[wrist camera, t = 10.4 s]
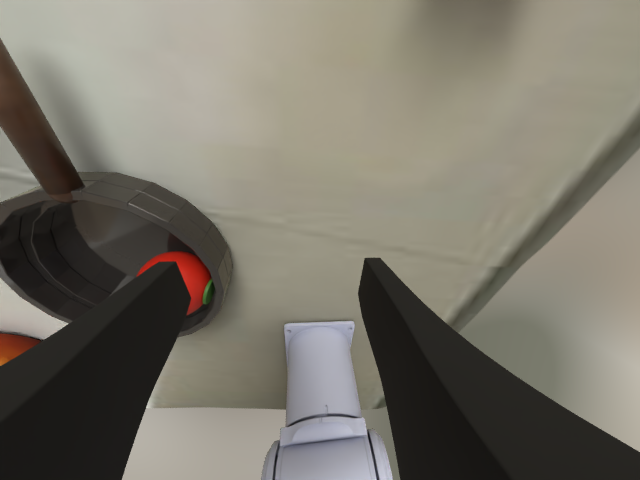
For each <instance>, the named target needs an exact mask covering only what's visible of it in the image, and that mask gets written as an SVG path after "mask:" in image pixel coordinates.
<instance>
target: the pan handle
mask: <svg viewBox="0 0 640 480" xmlns="http://www.w3.org/2000/svg"><path fill="white" fill-rule="evenodd" d="M0 127H1V128H2V130H3V131H4V132H5V134H6V135H7V137H8V138H9V140H10V141H11V143H12V144H13V146H14V147H15V148H16V150H17V151H18V153H19V154H20V156H21V157H22V159H23V160H24V162H25V163H26V164H27V166H28V167H29V169H30V170H31V172H32V173H33V175H34V176H35V178H36V179H37V180H38V182H39V183H40V185H41V186H42V188H43V189H44V191H45V192H46V193H47V195H48V196H49V197H51V198H52V199H54V200H55V201H58V202H61V203H76V202H78V201H72V199H73V196H72V194H71V191H72V190H75V189H78V188H80V187H82V186H83V185H84V183H83V181H82V180H81V178H80V176H79V174H78V173H77V171H76V169H75V167H74V166H73V164H72V162H71V160H70V159H69V157H68V155H67V153H66V152H65V150H64V148H63V146H62V145H61V143H60V141H59V139H58V138H57V136H56V134H55V133H54V131H53V129H52V127H51V126H50V124H49V122H48V120H47V119H46V117H45V115H44V113H43V112H42V110H41V108H40V106H39V105H38V103H37V101H36V99H35V98H34V96H33V94H32V92H31V91H30V89H29V87H28V85H27V84H26V82H25V80H24V78H23V77H22V75H21V73H20V72H19V70H18V68H17V66H16V65H15V63H14V61H13V59H12V58H11V56H10V54H9V52H8V51H7V49H6V47H5V45H4V44H3V42H2V40H1V38H0Z"/></svg>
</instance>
